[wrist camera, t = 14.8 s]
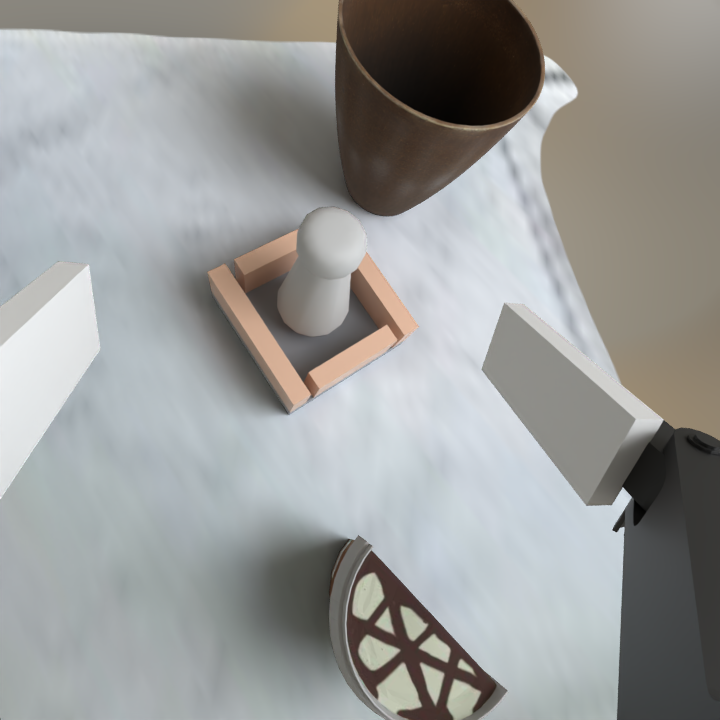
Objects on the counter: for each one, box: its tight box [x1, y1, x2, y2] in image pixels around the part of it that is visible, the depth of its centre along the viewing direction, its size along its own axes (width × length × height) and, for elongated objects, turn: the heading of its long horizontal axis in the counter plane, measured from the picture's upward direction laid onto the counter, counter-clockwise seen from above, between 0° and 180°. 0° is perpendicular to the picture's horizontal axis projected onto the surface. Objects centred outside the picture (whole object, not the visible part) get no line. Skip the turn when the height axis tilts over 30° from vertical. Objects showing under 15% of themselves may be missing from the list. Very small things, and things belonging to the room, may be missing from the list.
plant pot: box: [335, 0, 545, 216], centre depth 37 cm, size 15×15×16 cm
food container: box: [329, 535, 508, 720], centre depth 29 cm, size 12×6×10 cm, turn 45°
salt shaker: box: [277, 206, 367, 337], centre depth 32 cm, size 6×6×13 cm
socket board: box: [207, 229, 419, 415], centre depth 37 cm, size 12×12×5 cm
